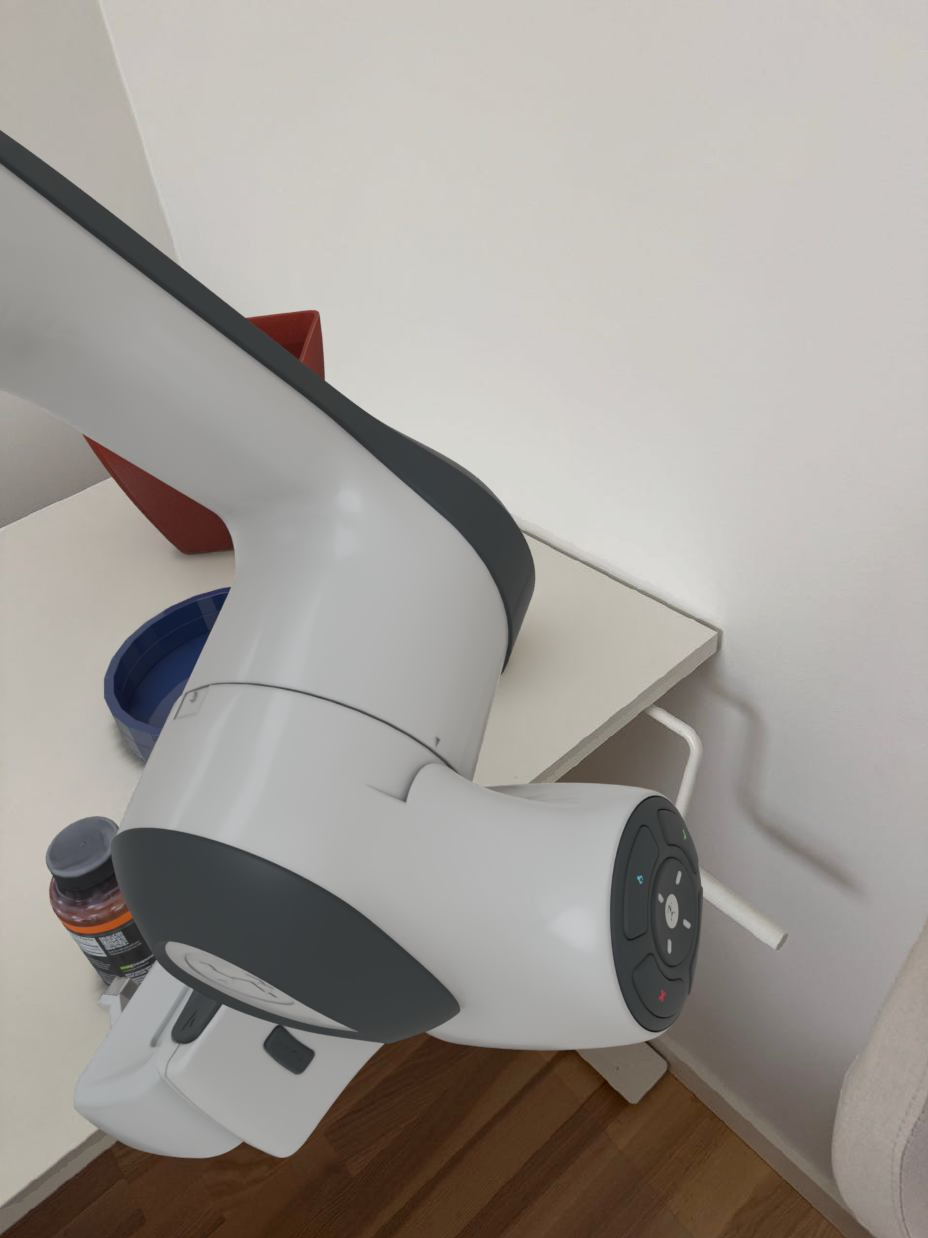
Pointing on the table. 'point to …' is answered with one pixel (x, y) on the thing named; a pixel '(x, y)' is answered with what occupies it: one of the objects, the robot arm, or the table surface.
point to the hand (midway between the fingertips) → (173, 913)
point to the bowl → (158, 667)
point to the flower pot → (171, 508)
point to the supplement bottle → (95, 900)
